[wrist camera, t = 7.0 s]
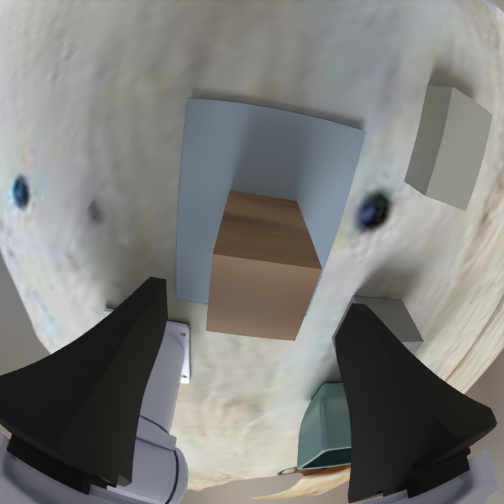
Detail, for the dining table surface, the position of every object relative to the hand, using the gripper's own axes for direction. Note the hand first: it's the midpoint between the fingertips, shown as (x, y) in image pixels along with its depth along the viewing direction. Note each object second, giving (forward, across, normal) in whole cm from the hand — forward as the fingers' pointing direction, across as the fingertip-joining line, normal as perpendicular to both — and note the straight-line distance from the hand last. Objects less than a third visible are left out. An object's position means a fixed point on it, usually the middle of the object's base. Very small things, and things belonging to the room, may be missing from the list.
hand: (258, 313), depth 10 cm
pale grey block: (+8, -11, -8) cm, 16 cm away
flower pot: (+8, -13, +20) cm, 25 cm away
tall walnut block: (+8, 0, 0) cm, 8 cm away
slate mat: (+8, 0, 0) cm, 8 cm away
